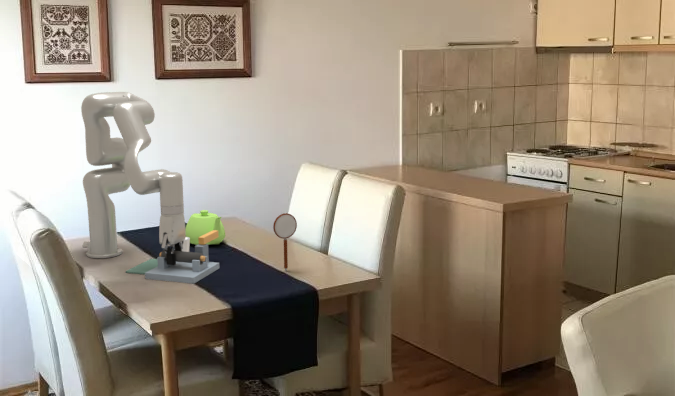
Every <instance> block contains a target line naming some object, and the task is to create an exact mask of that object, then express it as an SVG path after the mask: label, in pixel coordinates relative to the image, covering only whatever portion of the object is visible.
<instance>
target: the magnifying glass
mask: <svg viewBox="0 0 675 396" xmlns="http://www.w3.org/2000/svg"><path fill="white" fill-rule="evenodd" d="M297 223H298V222H297V220H296V217H295V216H294V215H292V214H290V213H286V212H285V213H281V214H280V215H279V214H278V216H277V217H276V218H275V220H274V222H273V225H272V226H273V227H272V228H273V232H274V235H276V237H278V238H280V239H283V268H284V271H285V272H287V271H288V266H289V265H288V263H289V262H288V239H289V238H290V237H292V236H293V235H294V234H295V232H296V231H297V227H298V225H297Z"/></svg>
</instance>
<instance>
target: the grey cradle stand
mask: <svg viewBox="0 0 675 396" xmlns="http://www.w3.org/2000/svg"><path fill="white" fill-rule="evenodd" d="M194 252H196V253H203V256H205V257H206V259H205V261H203V262H202V264H200V260H192V263H186V262H176V265H167V261H165V257H160V256H157V258H156V259H157V262H158V266H157V267H155V268H153V269H151V270H149V271H147V272H146V273H145V275H144V279H145V280H152V281H153V280H156V281H166V282H173V283H185V284H192V285H193V284H196V283H197V282H199V281H200V280H202V279H205V278H206V277H208V276H209V275H211V274H213V273H214V272H216V271H217V270H220V262H214V261H210V260H209V258H210V257H209V256H210V255H209V245H208V244H204V245H202V244H198V245H195V246H194Z"/></svg>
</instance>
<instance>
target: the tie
mask: <svg viewBox="0 0 675 396" xmlns="http://www.w3.org/2000/svg"><path fill="white" fill-rule="evenodd" d="M218 237H219V234H218V231H217V230H213V231H211V232H209V233H206V234H204V235H202V236H200V237H198V240H199V244H202V245H204V244H206V243H208V242H210V241H212V240H214V239H216V238H218Z"/></svg>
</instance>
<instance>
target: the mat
mask: <svg viewBox="0 0 675 396" xmlns="http://www.w3.org/2000/svg"><path fill="white" fill-rule="evenodd" d="M157 266H158V262H157V258H150V259H148V260H146V261H144V262H141V263H139V264H138V265H135V266H133V267H131V268H129V269H127V270H125V273H127V274H135V275H144V276H145V273H146V272H147V271H149V270H151V269H153V268H155V267H157Z"/></svg>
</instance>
